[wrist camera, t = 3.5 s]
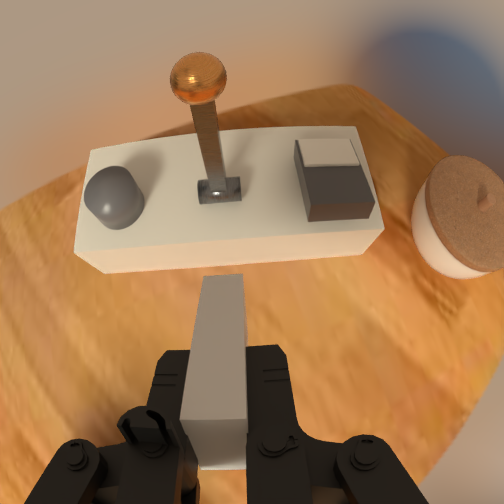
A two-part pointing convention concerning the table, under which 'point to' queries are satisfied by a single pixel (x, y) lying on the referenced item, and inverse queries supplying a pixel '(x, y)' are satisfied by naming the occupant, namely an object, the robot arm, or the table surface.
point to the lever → (206, 122)
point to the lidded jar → (460, 218)
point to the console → (220, 205)
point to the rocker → (332, 180)
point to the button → (114, 197)
